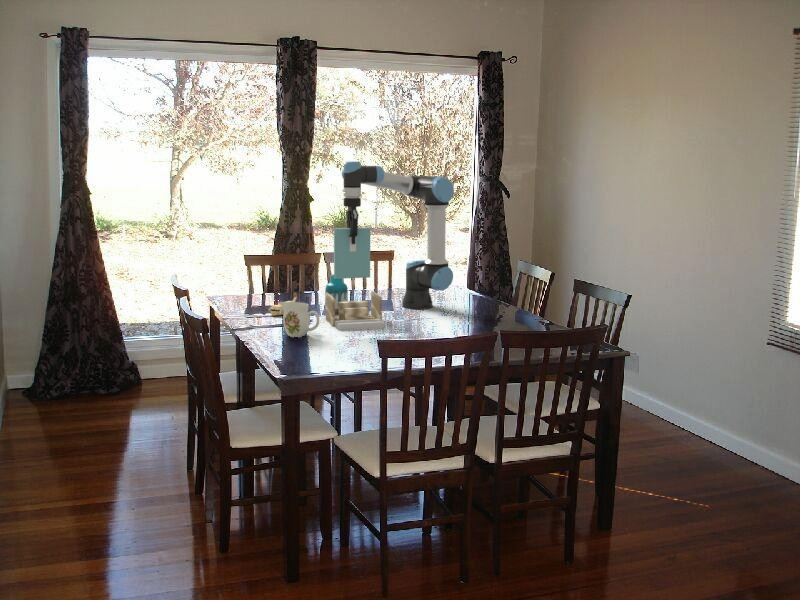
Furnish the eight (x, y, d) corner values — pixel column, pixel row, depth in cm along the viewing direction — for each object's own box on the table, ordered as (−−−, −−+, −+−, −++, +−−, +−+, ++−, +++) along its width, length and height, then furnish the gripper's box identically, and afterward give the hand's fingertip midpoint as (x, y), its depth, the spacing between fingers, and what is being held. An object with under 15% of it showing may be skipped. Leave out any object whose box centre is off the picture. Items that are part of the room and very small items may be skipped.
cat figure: (287, 309, 394) (263, 314, 370) (287, 291, 393) (263, 296, 370) (305, 310, 391) (282, 316, 368) (306, 293, 390) (283, 297, 367)
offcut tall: (367, 320, 357) (367, 300, 356) (368, 321, 355) (368, 301, 353) (338, 321, 354) (338, 301, 352) (339, 323, 351) (339, 302, 350)
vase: (344, 318, 368) (344, 277, 365) (322, 317, 370) (322, 276, 367) (350, 313, 378) (350, 273, 375) (328, 312, 380) (328, 272, 377)
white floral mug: (315, 340, 325) (314, 307, 323) (273, 337, 329) (273, 304, 327) (323, 334, 336) (323, 302, 333) (283, 331, 340) (282, 299, 337)
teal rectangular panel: (369, 276, 358) (369, 227, 354) (370, 277, 356) (370, 228, 352) (334, 278, 353) (333, 228, 349) (334, 278, 351) (334, 228, 347)
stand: (379, 327, 350) (379, 318, 350) (384, 331, 343) (384, 322, 343) (334, 329, 345) (334, 320, 344) (338, 333, 338) (338, 324, 337)
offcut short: (366, 322, 353) (366, 307, 352) (367, 323, 351) (367, 308, 349) (343, 323, 350) (343, 307, 349) (345, 324, 348) (345, 309, 346)
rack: (372, 320, 365) (373, 291, 363) (381, 327, 351) (382, 297, 348) (325, 322, 359) (325, 292, 356) (332, 329, 345) (332, 299, 342)
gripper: (340, 196, 354) (340, 249, 358) (347, 198, 340) (347, 253, 344) (356, 196, 356) (356, 248, 360) (364, 198, 342) (364, 253, 346)
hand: (352, 250), depth 352 cm, fingers closed on teal rectangular panel, 2 cm apart
